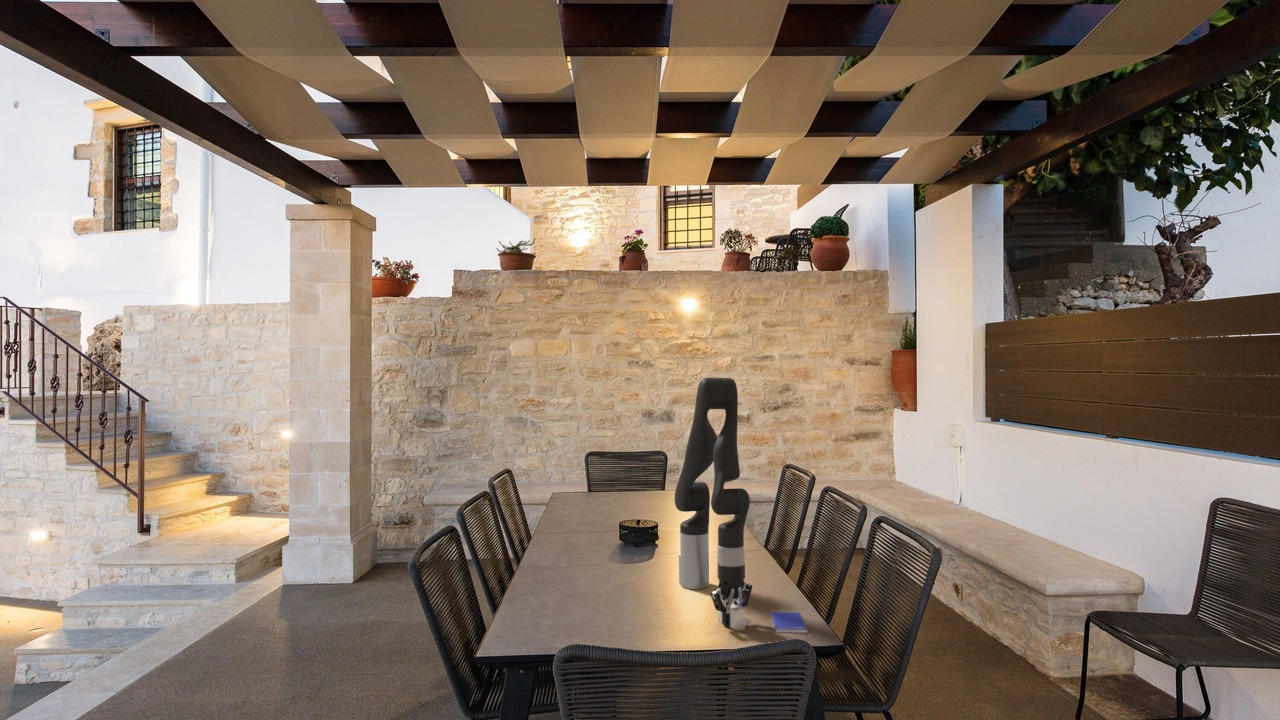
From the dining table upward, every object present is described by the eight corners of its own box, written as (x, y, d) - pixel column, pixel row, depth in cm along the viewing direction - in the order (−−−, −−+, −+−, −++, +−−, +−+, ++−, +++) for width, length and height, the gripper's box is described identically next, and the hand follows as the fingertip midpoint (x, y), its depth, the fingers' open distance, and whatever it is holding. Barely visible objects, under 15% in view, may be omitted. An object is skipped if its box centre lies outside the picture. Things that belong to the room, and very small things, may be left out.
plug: (716, 620, 193) (715, 602, 193) (725, 618, 195) (725, 600, 195) (743, 633, 184) (743, 614, 184) (753, 630, 186) (752, 612, 186)
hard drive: (807, 628, 184) (800, 612, 196) (776, 628, 185) (770, 611, 197) (807, 634, 184) (800, 618, 196) (776, 634, 185) (771, 617, 197)
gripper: (741, 554, 197) (742, 615, 197) (702, 562, 190) (703, 625, 189) (759, 560, 191) (760, 623, 191) (720, 569, 183) (721, 634, 183)
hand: (732, 624), depth 190 cm, fingers closed on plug, 3 cm apart
